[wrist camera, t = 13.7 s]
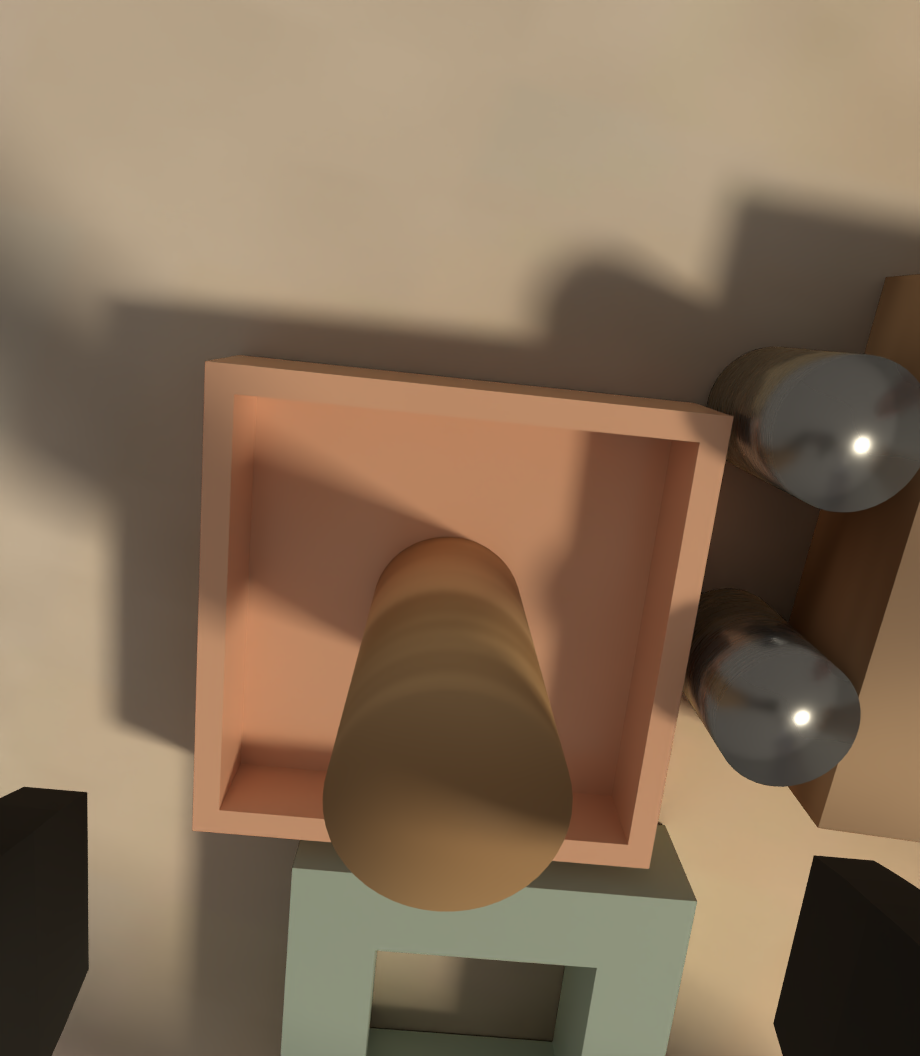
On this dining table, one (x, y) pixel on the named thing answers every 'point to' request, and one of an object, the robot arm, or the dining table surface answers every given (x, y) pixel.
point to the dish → (443, 511)
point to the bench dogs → (826, 483)
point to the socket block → (493, 956)
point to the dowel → (447, 738)
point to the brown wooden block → (872, 624)
